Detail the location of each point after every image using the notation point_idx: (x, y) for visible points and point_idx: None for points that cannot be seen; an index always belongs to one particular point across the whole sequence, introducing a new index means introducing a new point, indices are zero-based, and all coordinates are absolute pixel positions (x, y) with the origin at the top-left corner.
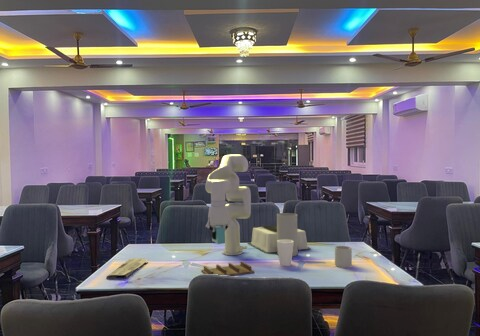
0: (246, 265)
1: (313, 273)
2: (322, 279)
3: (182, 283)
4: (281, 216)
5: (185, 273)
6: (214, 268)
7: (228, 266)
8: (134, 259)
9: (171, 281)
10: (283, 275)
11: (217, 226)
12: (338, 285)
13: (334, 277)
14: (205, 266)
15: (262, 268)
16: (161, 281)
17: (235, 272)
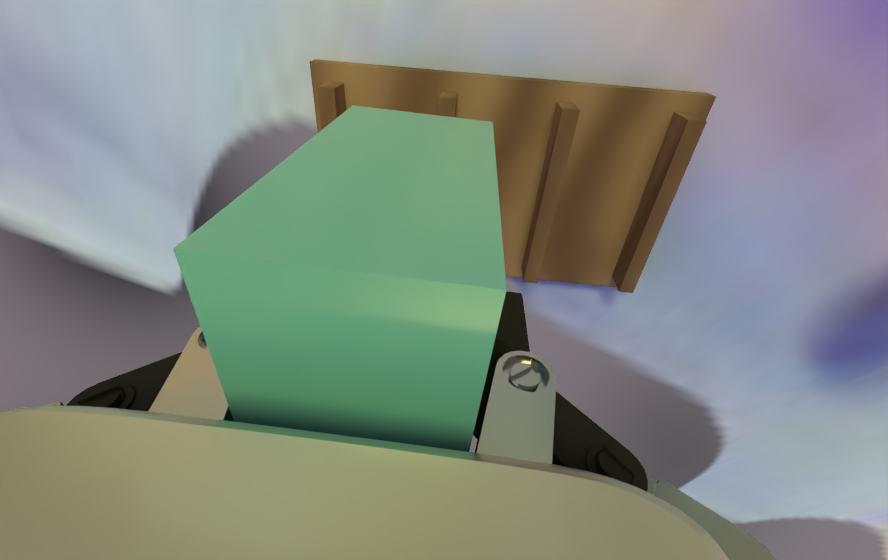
0: (636, 242)
1: (848, 425)
2: (772, 476)
3: (170, 243)
4: None
5: (180, 36)
6: (426, 85)
7: (557, 102)
8: None
9: (97, 178)
10: (708, 383)
11: (352, 420)
12: (735, 519)
13: (836, 483)
14: (329, 105)
15: (760, 232)
16: (27, 145)
17: (510, 261)
